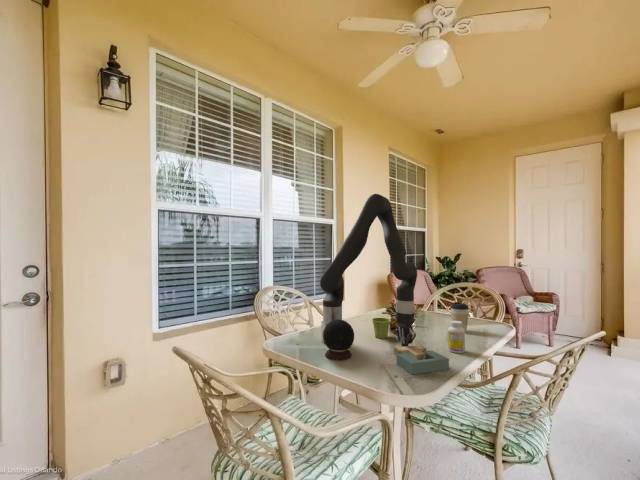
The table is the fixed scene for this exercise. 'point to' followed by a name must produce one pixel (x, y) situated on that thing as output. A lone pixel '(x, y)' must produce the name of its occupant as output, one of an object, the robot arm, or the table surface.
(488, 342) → the table surface
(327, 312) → the robot arm
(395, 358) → the t block
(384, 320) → the plant pot
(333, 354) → the black ball on stand
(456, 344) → the supplement bottle
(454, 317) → the coffee cup
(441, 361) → the dock
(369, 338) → the table surface
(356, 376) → the table surface
